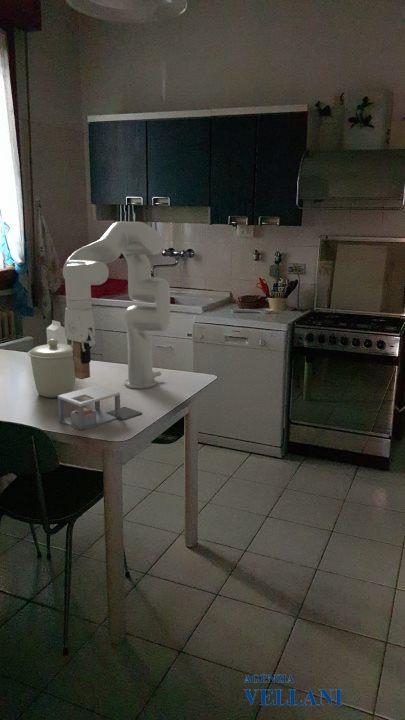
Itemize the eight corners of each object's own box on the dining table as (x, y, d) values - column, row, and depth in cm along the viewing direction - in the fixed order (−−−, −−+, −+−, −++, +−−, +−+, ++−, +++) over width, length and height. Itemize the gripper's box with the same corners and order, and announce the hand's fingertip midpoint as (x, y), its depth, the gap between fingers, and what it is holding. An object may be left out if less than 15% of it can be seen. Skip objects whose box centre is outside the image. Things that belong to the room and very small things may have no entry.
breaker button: (84, 418, 191) (84, 406, 190) (90, 421, 189) (90, 409, 188) (76, 421, 189) (76, 409, 188) (82, 423, 187) (82, 411, 186)
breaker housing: (97, 409, 203) (96, 385, 201) (120, 417, 196) (119, 392, 193) (59, 421, 192) (57, 395, 189) (81, 430, 184) (80, 403, 182)
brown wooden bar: (83, 375, 188) (81, 332, 184) (90, 377, 186) (88, 334, 182) (74, 377, 186) (72, 334, 182) (81, 379, 184) (79, 336, 180)
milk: (56, 375, 244) (53, 323, 238) (48, 372, 248) (45, 321, 242) (69, 372, 248) (66, 321, 242) (60, 369, 252) (57, 319, 246)
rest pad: (124, 407, 205) (124, 406, 205) (142, 413, 199) (142, 412, 199) (104, 414, 199) (104, 412, 199) (121, 420, 193) (121, 419, 193)
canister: (62, 404, 208) (60, 346, 203) (20, 398, 214) (16, 341, 209) (89, 389, 225) (87, 336, 219) (49, 384, 231) (46, 332, 225)
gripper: (53, 302, 182) (56, 359, 187) (85, 309, 172) (88, 369, 177) (72, 299, 188) (75, 354, 193) (105, 306, 177) (108, 364, 182)
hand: (81, 361), depth 184 cm, fingers closed on brown wooden bar, 3 cm apart
